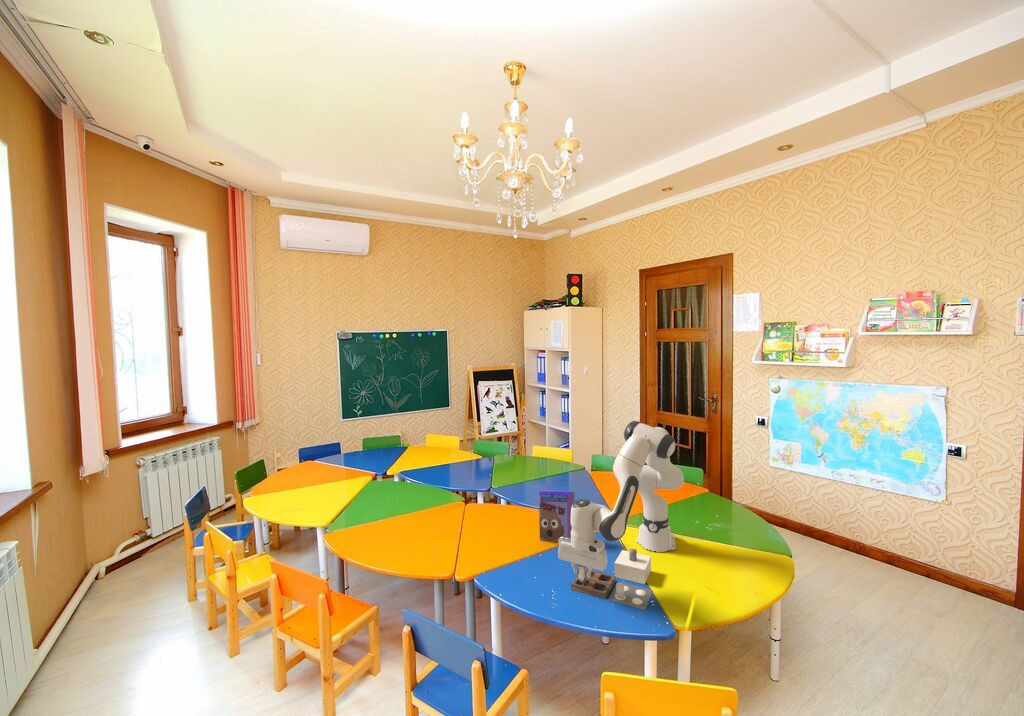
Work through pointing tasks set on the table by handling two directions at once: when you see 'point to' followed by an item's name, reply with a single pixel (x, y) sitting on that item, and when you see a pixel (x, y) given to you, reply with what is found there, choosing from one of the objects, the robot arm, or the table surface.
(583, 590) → the socket board
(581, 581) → the steel pin
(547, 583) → the table surface
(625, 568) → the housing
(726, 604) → the table surface
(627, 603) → the board
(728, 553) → the table surface
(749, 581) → the table surface
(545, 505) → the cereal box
